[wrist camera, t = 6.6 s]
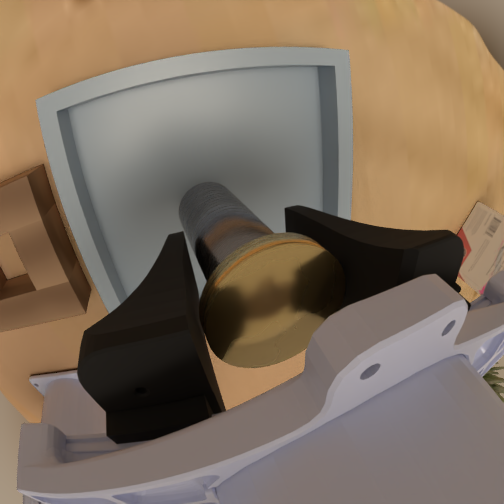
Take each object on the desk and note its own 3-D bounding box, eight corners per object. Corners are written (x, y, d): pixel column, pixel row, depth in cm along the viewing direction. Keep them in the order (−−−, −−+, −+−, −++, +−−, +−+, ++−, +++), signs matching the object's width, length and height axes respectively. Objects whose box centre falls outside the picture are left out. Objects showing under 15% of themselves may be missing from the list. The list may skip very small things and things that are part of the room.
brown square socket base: (91, 289, 18) (86, 313, 16) (1, 312, 16) (-8, 334, 14) (43, 163, 13) (26, 175, 11) (-49, 210, 11) (-67, 225, 9)
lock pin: (251, 235, 17) (338, 336, 10) (175, 257, 16) (222, 384, 9) (242, 160, 14) (351, 227, 8) (156, 180, 13) (188, 277, 6)
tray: (328, 268, 23) (344, 286, 21) (127, 321, 20) (127, 346, 18) (325, 53, 14) (348, 50, 12) (52, 98, 11) (35, 99, 9)
